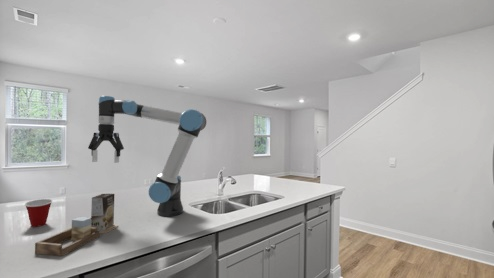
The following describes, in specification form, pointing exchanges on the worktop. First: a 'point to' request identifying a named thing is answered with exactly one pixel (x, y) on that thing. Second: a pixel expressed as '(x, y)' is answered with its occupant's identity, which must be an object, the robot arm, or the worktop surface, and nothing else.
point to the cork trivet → (109, 229)
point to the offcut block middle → (81, 230)
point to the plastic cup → (38, 211)
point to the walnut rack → (52, 243)
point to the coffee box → (102, 211)
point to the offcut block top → (81, 222)
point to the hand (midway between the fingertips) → (105, 162)
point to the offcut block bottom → (79, 236)
